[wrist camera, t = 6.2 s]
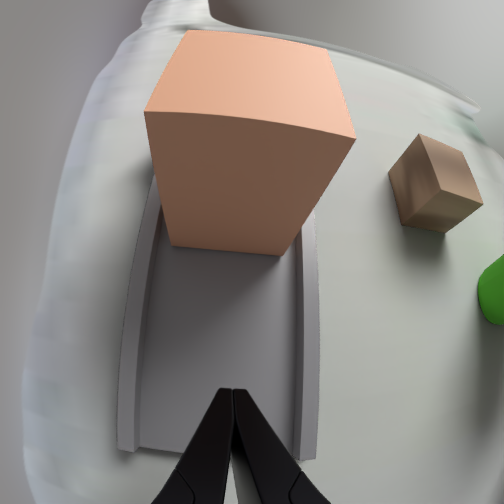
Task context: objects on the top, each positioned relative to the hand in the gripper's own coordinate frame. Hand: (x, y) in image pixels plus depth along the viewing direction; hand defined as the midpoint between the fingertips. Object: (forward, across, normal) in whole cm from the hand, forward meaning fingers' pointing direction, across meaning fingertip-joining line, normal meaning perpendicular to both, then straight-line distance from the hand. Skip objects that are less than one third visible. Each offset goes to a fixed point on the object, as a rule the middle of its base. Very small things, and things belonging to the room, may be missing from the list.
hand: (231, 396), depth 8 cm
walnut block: (+14, -15, -5) cm, 21 cm away
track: (+9, 0, 0) cm, 9 cm away
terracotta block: (+10, 0, -4) cm, 11 cm away
